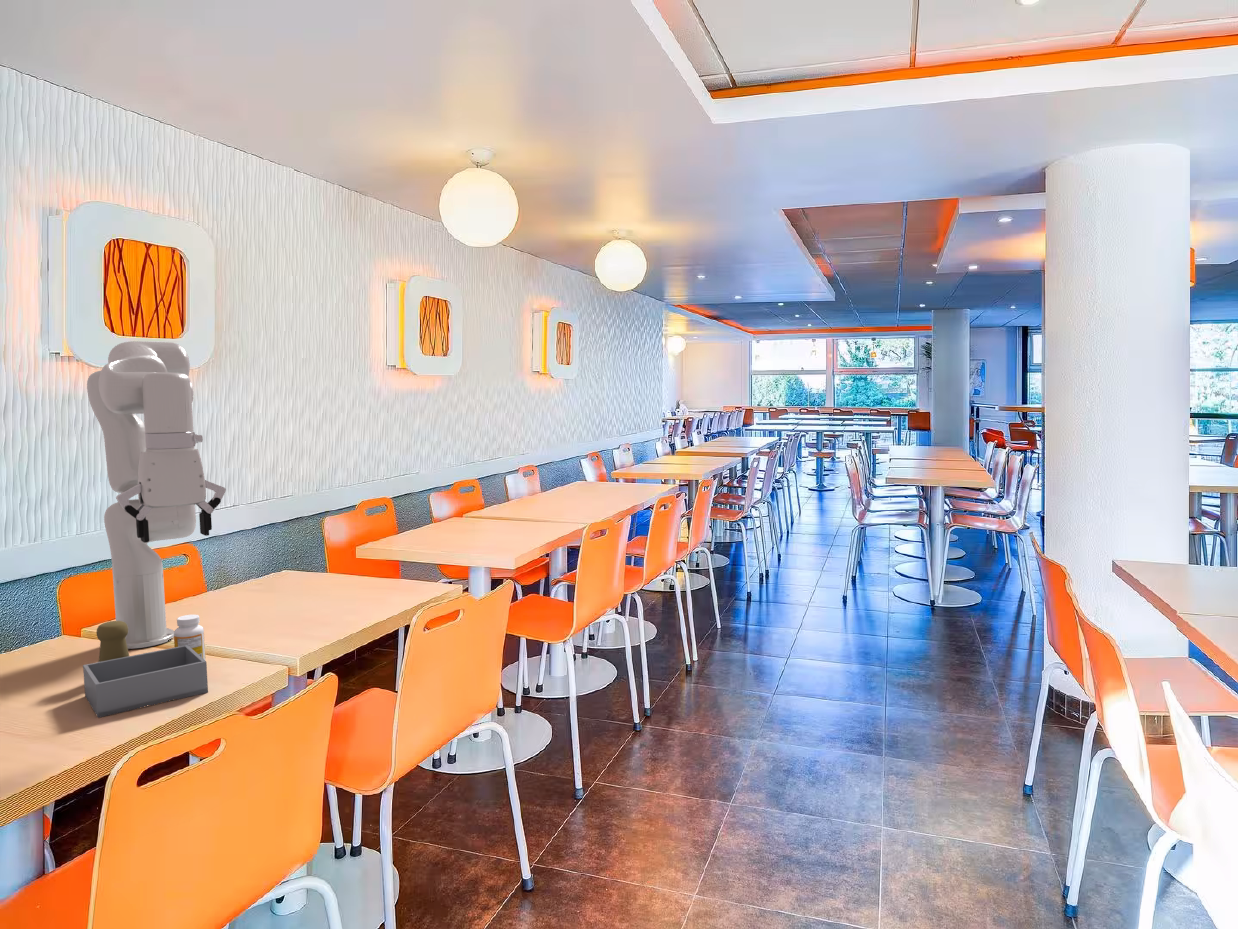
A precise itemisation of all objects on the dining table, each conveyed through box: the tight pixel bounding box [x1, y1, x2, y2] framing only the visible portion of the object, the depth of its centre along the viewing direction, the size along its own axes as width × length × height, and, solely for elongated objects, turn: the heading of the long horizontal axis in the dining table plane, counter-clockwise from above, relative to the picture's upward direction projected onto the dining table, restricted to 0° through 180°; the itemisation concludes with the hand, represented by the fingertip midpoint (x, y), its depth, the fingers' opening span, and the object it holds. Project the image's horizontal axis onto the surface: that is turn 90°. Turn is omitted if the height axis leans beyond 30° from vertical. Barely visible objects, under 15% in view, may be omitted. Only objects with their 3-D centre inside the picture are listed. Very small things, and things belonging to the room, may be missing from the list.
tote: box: [82, 645, 209, 719], centre depth 147 cm, size 13×17×6 cm
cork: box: [96, 620, 130, 662], centre depth 156 cm, size 6×6×11 cm
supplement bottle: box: [173, 614, 206, 661], centre depth 164 cm, size 5×5×10 cm
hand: (175, 538), depth 144 cm, fingers open, 9 cm apart
